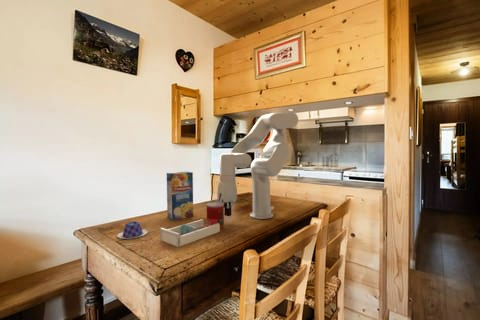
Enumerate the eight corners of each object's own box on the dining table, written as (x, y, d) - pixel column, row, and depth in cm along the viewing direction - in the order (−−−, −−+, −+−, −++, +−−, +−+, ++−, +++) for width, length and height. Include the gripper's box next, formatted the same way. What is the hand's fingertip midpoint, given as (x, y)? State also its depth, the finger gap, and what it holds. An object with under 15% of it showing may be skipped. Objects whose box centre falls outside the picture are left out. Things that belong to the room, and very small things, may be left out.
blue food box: (187, 213, 138) (187, 171, 137) (193, 216, 132) (192, 172, 131) (167, 217, 131) (166, 172, 130) (172, 220, 125) (171, 173, 124)
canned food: (221, 230, 108) (221, 206, 108) (204, 229, 110) (204, 205, 109) (225, 225, 116) (225, 202, 115) (209, 224, 117) (209, 201, 117)
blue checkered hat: (148, 237, 101) (148, 225, 100) (116, 242, 96) (115, 229, 96) (146, 229, 112) (146, 217, 111) (117, 233, 107) (117, 221, 107)
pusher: (183, 233, 104) (183, 223, 104) (196, 238, 98) (196, 227, 98) (178, 235, 102) (178, 224, 102) (191, 239, 96) (191, 228, 96)
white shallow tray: (202, 226, 114) (202, 216, 114) (219, 231, 107) (219, 220, 106) (160, 239, 97) (160, 228, 97) (178, 247, 90) (177, 234, 90)
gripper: (232, 176, 127) (232, 211, 127) (211, 179, 115) (211, 217, 116) (243, 177, 122) (243, 213, 123) (222, 180, 110) (222, 220, 111)
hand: (227, 215), depth 119 cm, fingers closed
